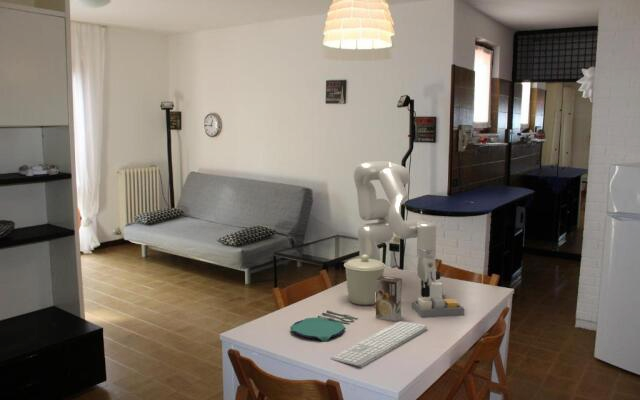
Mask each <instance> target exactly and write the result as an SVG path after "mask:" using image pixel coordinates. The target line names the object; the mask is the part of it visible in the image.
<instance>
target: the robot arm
mask: <svg viewBox="0 0 640 400" xmlns="http://www.w3.org/2000/svg"><path fill="white" fill-rule="evenodd" d="M353 179H354V183H355V188H356V193H357V194H356V195H357V204H358V214H359V217H360V219H361V220H363V221H365V222H366V221H377V222H371V223H370V222H369V223H365V224H362V225H361V226H360V227H358V230H357V239H358V245H359V247H358V249H359V258H361V256H362V255H363V254H366V255H368V256H369V259H376V260H379V261H381V252H380V249H379V247H378V245H377V244H382V243H387V242H390V241H391V240H392V239H393V237H394V235H395V236H396V237H397V238H398V239H400V240H407V239H416V257H417V269H416V270H417V271H416V273H417V277H418V278H419V279H420V286H421V287H420V296H421V298H426V297H429V296H430V286H431V285H432V283H431V280H432V281H434V282H435V281H436V270H437V267H436V259H435V258H436V256H437V255H436V254H437V251H436V250H437V225H436V223H435V222H434V223H433V222H431V221H429V222H428V221H426V220H424V219H420V218H417V219H416V218H415V219H408V220H404V218H403V217H402V214H401V211H400V209H401V206H402V205H403V204H405V203H406V202H407V201H408V200H409V198H410V196H409V193H408V190H407V188H406V185H408V184H409V183H410V181H411V174H410V172H409V169H408V168H406V167H405V166H403V165H400V164H398V163H395V162H392V161H389V160H384V161H383V160H380V161H378V160H377V161H365V162H360V163H359V164H358V165H357V166H356V167H355V169H354V172H353ZM372 181H379V182H380V184H381V186H382V187H381V188H382V189H383V191H384V193H385V195H386V197H387V199H385V198H377V192H376V191H377V190H376V187H375V186H374V184H373V183H372Z"/></svg>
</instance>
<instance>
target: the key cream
mask: <svg viewBox="0 0 640 400" xmlns="http://www.w3.org/2000/svg"><path fill="white" fill-rule="evenodd" d="M430 300H431V299H428V298H426V297H417V301H418V305H419V306H420V307H421V308H422V309H432V301H430Z"/></svg>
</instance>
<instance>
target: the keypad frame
mask: <svg viewBox="0 0 640 400" xmlns="http://www.w3.org/2000/svg"><path fill="white" fill-rule="evenodd" d="M429 300H430V301H431V299H429ZM411 308H412V310H413V311H414V312H415V313H416V314H417V315H418V316H419V317H420V318H435V317H455V316H456V317H457V316H464V315H465V307H464V306H462V305H461V304H460V303H458V305H457V308H449V307H447V306H446V305H445V308H439V309H436V308H435V307H434V306H433V305H432V309H422V308H421V307H420V306H419V305H418V300H412V301H411Z"/></svg>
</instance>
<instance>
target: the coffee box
mask: <svg viewBox="0 0 640 400" xmlns="http://www.w3.org/2000/svg"><path fill="white" fill-rule="evenodd" d="M402 285H403V283H402V278H399V277H394V276H393V277H392V276H385V275H383V276H380V277H379V278H378V279H376V303H375V318H376V319H378V320H379V319H380V320H386V321H392V322H399V321H400V319H401V318H402Z"/></svg>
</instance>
